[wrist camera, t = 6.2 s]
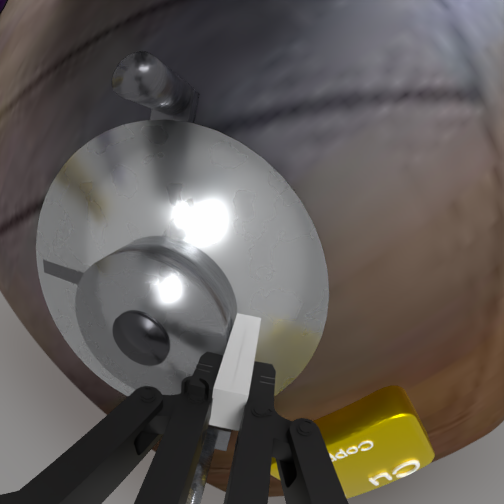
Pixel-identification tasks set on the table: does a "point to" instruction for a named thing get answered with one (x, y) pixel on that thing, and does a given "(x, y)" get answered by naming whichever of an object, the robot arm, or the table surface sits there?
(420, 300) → the table surface
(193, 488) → the stand
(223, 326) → the cover
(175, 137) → the turntable
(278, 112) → the table surface
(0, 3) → the potion bottle
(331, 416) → the element tile
